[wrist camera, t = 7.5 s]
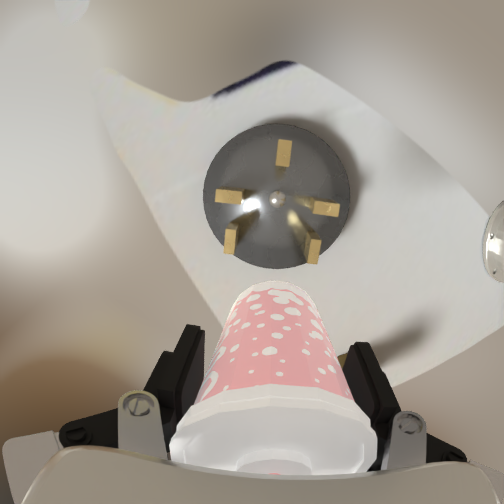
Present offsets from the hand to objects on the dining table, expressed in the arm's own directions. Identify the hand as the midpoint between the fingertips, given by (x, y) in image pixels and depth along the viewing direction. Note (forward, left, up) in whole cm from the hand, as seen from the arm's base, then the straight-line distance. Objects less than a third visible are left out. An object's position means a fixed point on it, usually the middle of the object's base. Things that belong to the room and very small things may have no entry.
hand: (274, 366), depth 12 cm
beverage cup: (0, 0, -4) cm, 4 cm away
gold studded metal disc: (0, -4, -22) cm, 22 cm away
